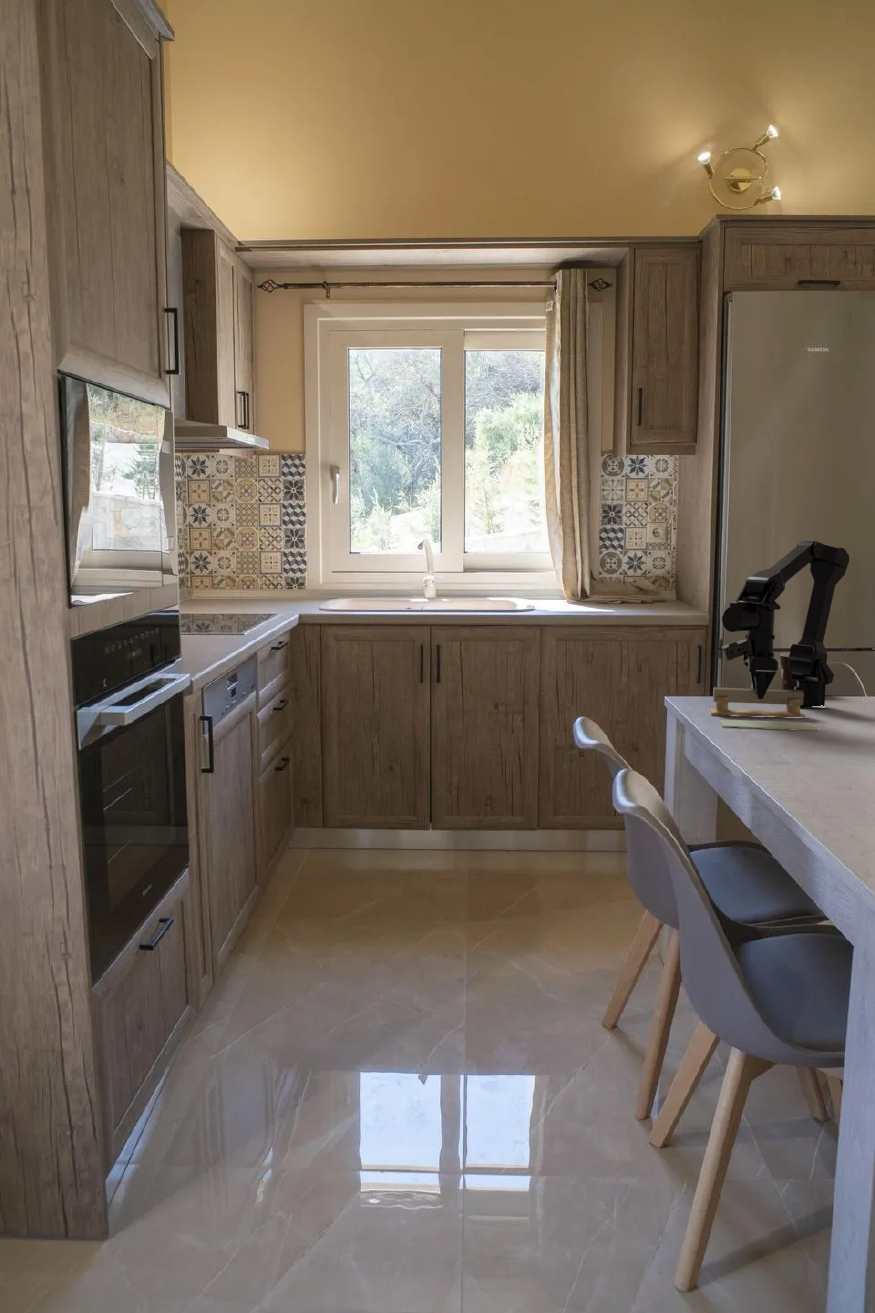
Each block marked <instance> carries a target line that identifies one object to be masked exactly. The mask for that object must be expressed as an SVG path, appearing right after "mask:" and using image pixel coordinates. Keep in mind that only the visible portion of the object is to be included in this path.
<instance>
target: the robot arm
mask: <svg viewBox="0 0 875 1313" xmlns="http://www.w3.org/2000/svg"><path fill="white" fill-rule="evenodd" d="M808 564H810V565H809V572H810V575H811V576H812V580H813V584H812V585H813V586H812V590H811V594H810V599H809V604H808V609H807V613H806V617H805V622H804V627H803V633H802V637H801V638H800V640H799V641H798V642H797V643H792V644H791V646H790V650H789V653H790V655H789V657H788V660H789V662H788V667H789V671H790V676H791V680H796V681H797V686H795V687H794V690H802V691H803V692H804V697H803V705H800V707H812V706H821V705H823V706H824V705H825V703H826V702H825V701H826V690H827V689H826V686H827V685H830V684H832V683H833V681H834V676H835V675H834V673H833V671H832V670H831V668H830V667H829V665H828V663H827V662H828V661H827V660H828V652H827V650H826V648H825V645H824V640H825V634H826V630H827V625H828V621H829V617H830V611H831V606H832V602H833V598H834V593H835V589H836V585H837V584H838V583H839V582H840V581H841V580H842V579H843V577H845V574H846V573H847V569H848V566H849V564H850V555H849V553H848V551H847V550H846V549H845V548H844V547H834V546H831V545H827V544H824V543H822V542H819V541H817V540H802V541H799V542H797V544H796V547H794V548H793V549H792V550H791V551H789V552H788V553H787V554H786V555H784V556H783V557H782V558H780V560H778V561H777V562H776V563H775V564H774V565H773V566H771V567H769V568H766V569H764V570H759V571H757V572H755V573H753V574H752V575H749V577H748V578H746V581H745V583H744V585H743V588H742V589H741V591H740V593H739V595H738V596H737V599H736V600H735V601H730V603H729V607H727V609H726V610H725V611H724V612H723V615H722V616H721V621H722V622H721V623H722V626H723V627H724V628H725V630H726V631H728V632H730V633H735V632H736V633H737V632H746V633H745V638H744V639H741V640H737V641H736V640H734V641H733V642H728V644H725V645H722V646H721V649H722V652H723V655H724V657H725V660H726V662H727V661H728V662H729V661H732V660H734V659H736V658H739V657H741V660H742V661H743V662H742V663H743V665H745V666H746V667H747V671H748V672H749V673H750V679H751V680H750V681H751V685H752V689H756V691H757V698H758V699H763V697H764V695H765V693H766V691H767V689H769V687H770V686H771V683H772V681H773V680H774V679H775V678H774V677H775V676H776V674H777V672H778V671H779V662H778V660H777V659H776V658H775V652H773V651H774V641H775V639H776V638H775V636H776V634H774V633H775V632H774V629H775V611H777V610H779V611H780V610H781V606H780V604H779V603H778V602H776V600H778V599H779V597H780V596H781V595H782V593H783V592H784V591H785V590H786V589H785V588H786V584H787V582H789V581H790V580H791V579H792V578H793V577H794V576H795V575H797V574H798V573H799V572H800V571H802V569H804V568H805V567H806V566H807V565H808ZM825 706H826V705H825Z"/></svg>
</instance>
